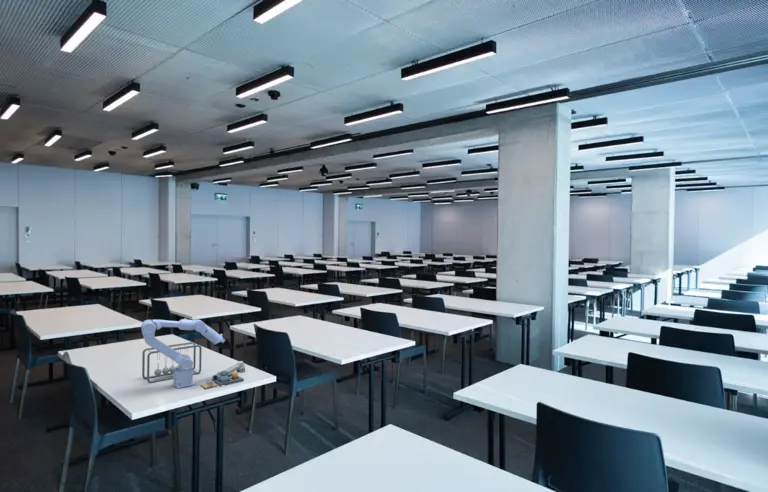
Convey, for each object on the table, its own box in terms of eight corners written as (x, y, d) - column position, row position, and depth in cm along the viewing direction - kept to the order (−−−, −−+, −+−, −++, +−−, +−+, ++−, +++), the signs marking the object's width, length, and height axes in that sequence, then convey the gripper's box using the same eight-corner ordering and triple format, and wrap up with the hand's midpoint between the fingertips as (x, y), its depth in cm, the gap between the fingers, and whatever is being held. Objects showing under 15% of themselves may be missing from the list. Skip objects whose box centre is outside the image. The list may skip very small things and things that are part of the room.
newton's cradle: (147, 384, 249) (147, 352, 249) (141, 379, 256) (142, 348, 256) (201, 373, 269) (201, 344, 269) (194, 369, 277) (195, 341, 277)
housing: (220, 386, 247) (220, 383, 247) (214, 382, 252) (214, 380, 252) (243, 381, 257) (243, 378, 257) (237, 377, 262) (237, 375, 262)
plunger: (233, 379, 255) (233, 373, 255) (231, 377, 257) (231, 372, 257) (238, 378, 257) (238, 372, 257) (236, 376, 259) (236, 371, 259)
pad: (205, 389, 242) (205, 387, 242) (200, 386, 246) (200, 384, 246) (218, 386, 246) (218, 384, 246) (212, 383, 251) (212, 381, 251)
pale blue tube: (210, 374, 256) (240, 358, 279) (212, 385, 257) (240, 368, 280) (218, 375, 254) (246, 359, 277) (219, 386, 255) (247, 369, 278)
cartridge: (221, 385, 249) (221, 374, 249) (218, 383, 252) (218, 372, 252) (229, 383, 252) (230, 372, 252) (226, 381, 256) (226, 370, 256)
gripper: (220, 329, 252) (238, 343, 257) (211, 329, 263) (228, 342, 268) (212, 339, 248) (230, 353, 254) (203, 339, 259) (221, 352, 265)
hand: (229, 348), depth 261 cm, fingers open, 7 cm apart
